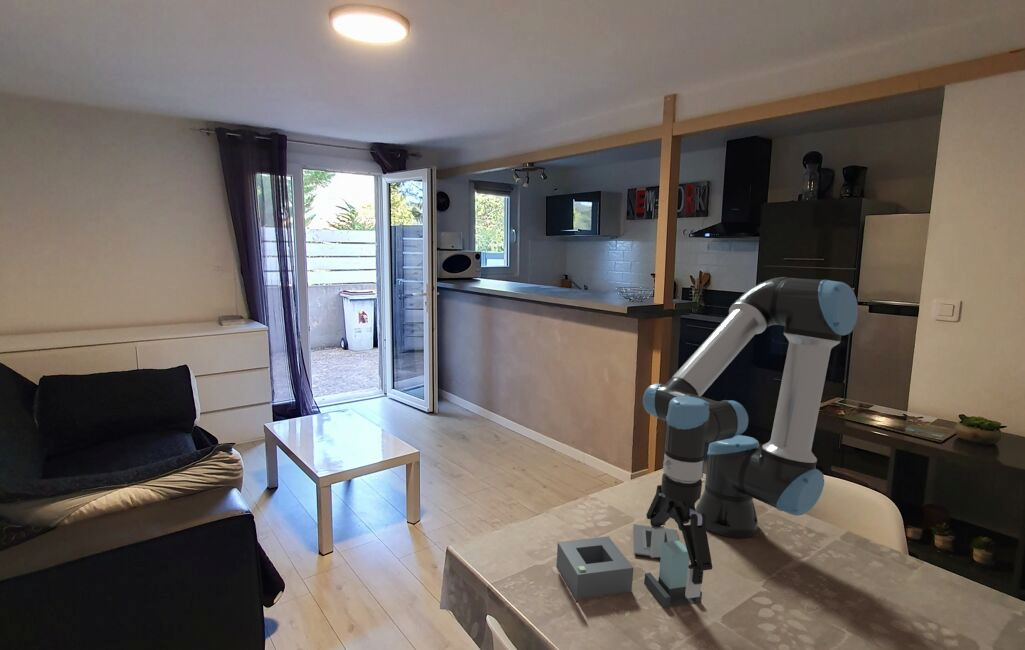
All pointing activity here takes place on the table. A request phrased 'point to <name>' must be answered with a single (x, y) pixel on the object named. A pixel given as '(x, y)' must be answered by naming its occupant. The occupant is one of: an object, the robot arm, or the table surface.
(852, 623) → the table surface
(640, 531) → the electrical outlet
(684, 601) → the grey u-channel bracket
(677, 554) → the plug
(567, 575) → the port block
